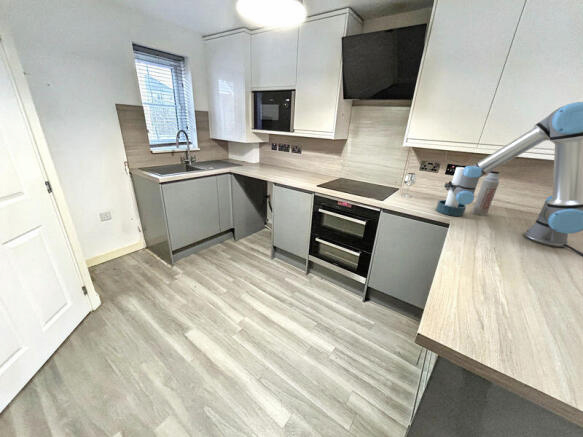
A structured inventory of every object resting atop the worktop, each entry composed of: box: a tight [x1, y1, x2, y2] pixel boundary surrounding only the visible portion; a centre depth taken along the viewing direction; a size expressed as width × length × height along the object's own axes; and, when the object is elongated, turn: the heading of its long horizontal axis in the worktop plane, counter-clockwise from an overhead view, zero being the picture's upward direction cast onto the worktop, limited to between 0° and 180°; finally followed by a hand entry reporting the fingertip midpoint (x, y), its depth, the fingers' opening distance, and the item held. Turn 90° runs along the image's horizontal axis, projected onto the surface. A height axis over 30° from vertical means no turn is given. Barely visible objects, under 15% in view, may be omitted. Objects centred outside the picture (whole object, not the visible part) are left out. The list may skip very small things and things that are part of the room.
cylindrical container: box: [445, 166, 465, 207], centre depth 149 cm, size 7×7×25 cm
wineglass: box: [401, 172, 417, 198], centre depth 185 cm, size 8×8×18 cm
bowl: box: [435, 199, 467, 217], centre depth 154 cm, size 16×16×6 cm
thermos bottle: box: [471, 170, 501, 217], centre depth 150 cm, size 8×8×28 cm
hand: (456, 184), depth 153 cm, fingers closed on cylindrical container, 7 cm apart
